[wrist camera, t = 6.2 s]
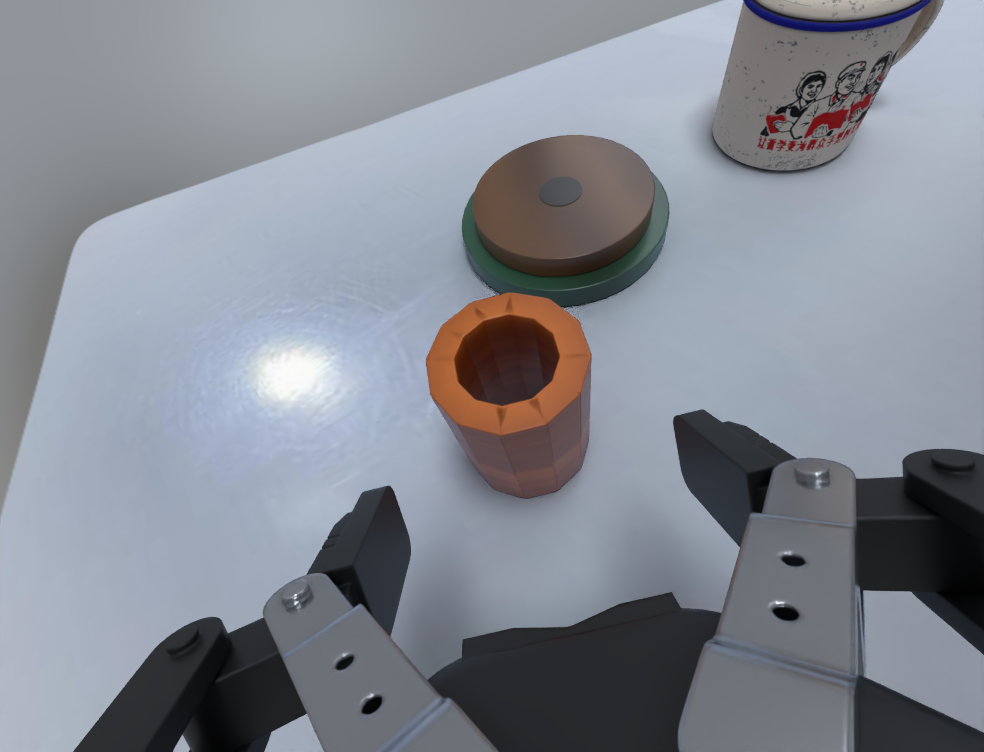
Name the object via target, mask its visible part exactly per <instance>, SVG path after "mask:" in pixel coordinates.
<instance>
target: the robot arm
mask: <svg viewBox="0 0 984 752" xmlns="http://www.w3.org/2000/svg"><path fill="white" fill-rule="evenodd" d="M673 425H674V431H675V437H676V443H677V449H678V455H679V461H680V466H681V471H682V475H683V478H684V480H685V483H686V485H687V487H688V488H689V490H690V491H691V493H692V494H693V495H694V496H695V497H696V498H697V499H698V500H699V502H700V503H701V504H702V505H703V506H704V507H705V508H706V510H707V511H708V512H709V513H710V514H711V515H712V516H713V517H714V519H715V520H716V521H717V522H718V523H719V524H720V525H721V527H722V528H723V529H724V530H725V531H726V532H727V533H728V534H729V536H730V537H731V538H732V539H733V540H734V541H735V542H736V543H737V545H738V546H739V547H740V551H739V554H738V558H737V561H736V564H735V568H734V571H733V575H732V578H731V582H730V585H729V589H728V592H727V596H726V599H725V603H724V606H723V610H722V613H719V612H714V611H708V610H703V609H690V608H680V606H679V604H678V602H677V601H676V599H675V597H674V595H673V594H672V592H670V593H666V594H661V595H657V596H653V597H648V598H644V599H639V600H635V601H630V602H626V603H622V604H618V605H616V606H614V607H612V608H610V609H607V610H605V611H603V612H601V613H599V614H597V615H594V616H592V617H590V618H588V619H586V620H583V621H581V622H579V623H577V624H575V625H572V626H569V627H553V628H511V629H507V630H503V631H498V632H494V633H489V634H485V635H481V636H476V637H472V638H467V639H463V645H462V658H460V659H458V660H456V661H454V662H453V663H451V664H449V665H447V666H446V667H444V668H443V669H441V670H440V671H438V672H437V673H436V674H434V675H433V676H432V677H430V678H429V679H428V680H426V679H425V677H424V676H423V675H422V674H421V673H420V672H419V670H418V669H417V668H416V667H415V666H414V665H413V663H412V662H411V661H410V660H409V659H408V657H407V656H406V655H405V654H404V653H403V652H402V650H401V649H400V648H399V647H398V646H397V645H396V643H395V642H394V641H393V640H392V639H391V638H390V637H391V633H392V629H393V625H394V621H395V617H396V613H397V609H398V605H399V601H400V597H401V593H402V589H403V585H404V581H405V577H406V573H407V569H408V565H409V561H410V556H411V545H410V538H409V534H408V531H407V528H406V525H405V522H404V519H403V517H402V514H401V511H400V508H399V505H398V502H397V499H396V496H395V493H394V491H393V489H392V488H391V487H390V486H385V487H381V488H377V489H372V490H368V491H364V492H362V494H361V496H360V498H359V500H358V501H357V503H356V505H355V507H354V509H353V511H352V512H350V513H347V514H346V515H345V516H344V517H343V518H342V519H341V520H340V521H338V522H337V523H336V524H335V525H334V527H333V529H332V530H331V532H330V534H329V536H328V539H327V540H326V541H325V543H324V545H323V546H322V550H320V552H319V553H318V555H317V557H316V559H315V561H314V562H313V564H312V566H311V568H310V569H309V571H308V573H307V575H305V576H302V577H299V578H297V579H295V580H293V581H291V582H289V583H288V584H286V585H285V586H283V587H282V588H280V589H279V590H278V591H277V592H276V593H274V594H273V595H272V596H271V597H270V599H269V600H268V601H267V603H266V604H265V606H264V609H263V616H264V618H262V619H260V620H257V621H255V622H253V623H251V624H248V625H246V626H244V627H242V628H239V629H237V630H235V631H233V632H230V633H227V631H226V629H225V627H224V624H223V622H222V620H221V619H220V618H217V617H208V618H203V619H200V620H197V621H195V622H192V623H190V624H188V625H186V626H184V627H182V628H181V629H179V630H177V631H176V632H174V633H173V634H171V635H170V636H169V637H167V638H166V639H165V640H164V641H162V642H161V643H160V644H159V645H158V646H157V647H156V648H155V649H154V650H153V651H152V653H151V654H150V655H149V656H148V658H147V659H146V660H145V661H144V663H143V664H142V665H141V666H140V668H139V669H138V670H137V671H136V673H135V674H134V675H133V677H132V678H131V679H130V680H129V682H128V683H127V684H126V685H125V687H124V688H123V689H122V690H121V692H120V693H119V694H118V696H117V697H116V698H115V699H114V701H113V702H112V703H111V704H110V706H109V707H108V708H107V709H106V711H105V712H104V713H103V715H102V716H101V717H100V718H99V720H98V721H97V722H96V723H95V725H94V726H93V727H92V728H91V730H90V731H89V732H88V734H87V735H86V736H85V737H84V739H83V740H82V741H81V742H80V744H79V745H78V746H77V747H76V749H75V750H74V751H73V752H173V750H174V748H175V746H176V744H177V743H178V741H179V739H180V737H181V736H182V734H183V736H184V738H185V740H186V742H187V744H188V745H189V747H190V751H189V752H264V751H265V748H266V746H267V743H268V741H269V738H270V735H271V732H272V731H274V730H276V729H278V728H280V727H282V726H284V725H286V724H288V723H289V722H291V721H293V720H295V719H297V718H299V717H301V716H303V715H305V714H307V715H308V717H309V719H310V721H311V723H312V726H313V728H314V730H315V732H316V735H317V737H318V739H319V741H320V744H321V746H322V748H323V750H324V752H984V733H983V732H981V731H979V730H977V729H975V728H972V727H970V726H968V725H966V724H964V723H962V722H960V721H958V720H955V719H953V718H951V717H949V716H947V715H945V714H943V713H940V712H938V711H936V710H934V709H932V708H930V707H928V706H926V705H923V704H921V703H919V702H917V701H915V700H913V699H911V698H909V697H906V696H904V695H902V694H900V693H898V692H896V691H894V690H892V689H889V688H887V687H885V686H883V685H881V684H879V683H877V682H874V681H872V680H870V679H868V678H866V648H865V613H864V590H870V591H911V592H912V593H913V594H914V595H915V596H916V597H917V598H918V599H919V600H921V601H922V602H923V603H924V604H925V605H926V606H928V607H929V608H930V609H931V610H932V611H933V612H935V613H936V614H937V615H938V616H939V617H940V618H941V619H943V620H944V621H945V622H946V623H947V624H948V625H950V626H951V627H952V628H953V629H954V630H955V631H957V632H958V633H959V634H960V635H961V636H962V637H964V638H965V639H966V640H967V641H968V642H969V643H971V644H972V645H973V646H974V647H975V648H976V649H978V650H979V651H980V652H981V653H982V654H983V655H984V455H982V454H979V453H974V452H970V451H963V450H955V449H930V450H922V451H918V452H914V453H912V454H909V455H908V456H906V457H905V458H904V459H903V462H902V463H903V477H890V478H871V479H856V477H855V474H854V472H853V471H852V470H851V469H850V468H848V467H847V466H845V465H843V464H841V463H838V462H835V461H831V460H826V459H818V458H800V459H797V458H795V457H794V456H792V455H791V454H789V453H787V452H786V451H784V450H783V449H781V448H780V447H778V446H777V445H775V444H773V443H770V442H769V440H767V439H766V438H764V437H762V436H759V434H758V433H756V432H755V431H753V430H752V429H750V428H748V427H747V426H744V425H740V424H736V423H732V422H729V421H728V422H723V423H722V422H721V421H719V420H718V419H716V418H715V417H714V416H712V415H711V414H709V413H708V412H706V411H705V410H698V411H693V412H689V413H685V414H681V415H677V416H675V417H674V420H673Z"/></svg>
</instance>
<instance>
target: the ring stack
mask: <svg viewBox="0 0 984 752" xmlns="http://www.w3.org/2000/svg"><path fill="white" fill-rule="evenodd" d="M668 219H669V203H668V199H667V195H666V192H665V190H664V188H663V186H662V184H661V183H660V181H659V180H658V179H657V177H656V176H655V175H654V174H653V173H652V172H651V171H650V169H649V167H648V166H647V164H646V163H645V162H644V160H643V159H642V158H641V157H640V156H639V155H637V154H636V153H635V152H633V151H632V150H631V149H629V148H627V147H625V146H623V145H621V144H619V143H616V142H614V141H611V140H608V139H604V138H599V137H594V136H584V135H567V136H557V137H550V138H546V139H541V140H538V141H535V142H531V143H528V144H526V145H524V146H521V147H519V148H517V149H515V150H513V151H511V152H509V153H508V154H506V155H505V156H503V157H502V158H500V159H499V160H498V161H497V162H495V163H494V164H493V165H492V166H491V167H490V168H489V169H488V170H487V171H486V172H485V174H484V175H483V176H482V178H481V179H480V181H479V183H478V184H477V187H476V189H475V192H474V193H473V194H472V196H471V198H470V199H469V201H468V203H467V206H466V208H465V211H464V215H463V220H462V234H463V240H464V243H465V247H466V250H467V253H468V256H469V259H470V262H471V264H472V266H473V268H474V270H475V271H476V273H477V274H478V275H479V276H480V278H481V279H482V280H483V281H484V282H486V283H487V284H488V285H489V286H490V287H492V288H493V289H494V290H496V291H497V292H499V293H501V294H505V293H508V292H510V293H519V294H525V295H531V296H537V297H543V298H548V299H550V300H552V301H553V302H554V303H556V304H557V305H558V306H560V307H563V306H573V305H580V304H585V303H590V302H594V301H597V300H600V299H603V298H606V297H608V296H610V295H613V294H615V293H617V292H619V291H621V290H623V289H624V288H626V287H628V286H629V285H631V284H632V283H633V282H635V281H636V280H637V279H639V278H640V277H641V276H642V275H643V274H644V273H645V272H646V271H647V270H648V269H649V268H650V267H651V265H652V264H653V263H654V261H655V260H656V258H657V257H658V255H659V253H660V251H661V249H662V246H663V243H664V240H665V235H666V230H667V225H668Z"/></svg>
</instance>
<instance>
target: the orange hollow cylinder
mask: <svg viewBox="0 0 984 752" xmlns="http://www.w3.org/2000/svg"><path fill="white" fill-rule="evenodd" d="M426 367H427V374H428V381H429V389H430V395H431V397H432V399H433V401H434V402H435V404H436V406H437V407H438V409H439V410H440V412H441V414H442V415H443V417H444V419H445V420H446V422H447V423H448V425H449V427H450V428H451V430H452V432H453V433H454V435H455V437H456V438H457V440H458V441H459V443H460V445H461V446H462V448H463V450H464V451H465V453H466V454H467V456H468V458H469V459H470V461H471V463H472V464H473V466H474V468H475V469H476V470H477V471H478V472H479V473H480V474H481V475H482V476H483V478H484V479H485V480H486V481H487V482H488V483H489V484H490V485H491V486H492V488H494V489H495V490H498V491H501V492H505V493H508V494H511V495H515V496H518V497H521V498H531V497H535V496H539V495H543V494H547V493H552V492H556V491H557V490H559V489H560V488H561V487H562V486H563V485H564V484H565V483H566V482H568V481H569V480H570V479H571V478H572V477H573V476H574V475H575V474H576V473H577V472H578V471H579V470H580V469H581V468H582V464H583V460H584V456H585V453H586V449H587V445H588V441H589V419H590V388H591V352H590V349H589V347H588V344H587V341H586V338H585V336H584V333H583V330H582V327H581V325H580V322H579V321H578V320H577V319H576V318H575V317H573V316H572V315H571V314H569V313H568V312H566V311H565V310H564V309H562V308H561V307H560V306H558V305H557V304H556V303H554V302H553V301H552V300H550V299H548V298H543V297H537V296H531V295H525V294H519V293H510V292H508V293H505V294H501V295H497V296H493V297H489V298H485V299H482V300H478V301H474V302H472V303H470V304H469V305H467V306H466V307H465V308H463V309H462V310H461V311H460V312H458V313H457V314H456V315H455V316H453V317H452V318H451V319H449V320H448V321H447V322H446V323H444V324H443V325H442V327H441V328H440V330H439V332H438V334H437V336H436V338H435V341H434V343H433V345H432V347H431V349H430V351H429V354H428V356H427V358H426Z"/></svg>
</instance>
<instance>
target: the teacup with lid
mask: <svg viewBox="0 0 984 752" xmlns="http://www.w3.org/2000/svg"><path fill="white" fill-rule="evenodd" d="M943 3H944V0H743V5H742V9H741V13H740V17H739V21H738V25H737V29H736V33H735V37H734V41H733V45H732V49H731V53H730V57H729V61H728V64H727V68H726V72H725V76H724V80H723V84H722V88H721V92H720V96H719V100H718V104H717V108H716V112H715V116H714V120H713V126H712V131H713V136H714V139H715V141H716V143H717V144H718V146H719V147H720V148H721V149H722V150H723V151H724V152H725V153H726V154H727V155H729V156H730V157H732V158H733V159H735V160H737V161H739V162H741V163H744V164H747V165H750V166H753V167H757V168H762V169H768V170H798V169H805V168H810V167H813V166H817V165H820V164H822V163H825V162H827V161H829V160H831V159H833V158H834V157H836V156H837V155H839V154H840V153H841V152H842V151H844V150H845V149H846V148H847V146H848V145H849V144H850V142H851V141H852V139H853V137H854V135H855V133H856V132H857V130H858V128H859V126H860V124H861V122H862V120H863V118H864V117H865V115H866V113H867V111H868V109H869V107H870V105H871V104H872V102H873V100H874V98H875V96H876V94H877V92H878V91H879V89H880V87H881V85H882V83H883V81H884V79H885V77H886V76H887V74H888V72H889V70H890V68H891V67H892V66H893V65H894V64H896V63H897V62H898V61H899V60H901V59H902V58H903V57H904V56H905V55H906V54H907V53H908V52H909V51H910V50H911V49H912V48H913V47H914V46H915V45H916V44H917V43H918V42H919V41H920V39H921V38H922V37H923V36H924V35H925V33H926V32H927V31H928V29H929V28H930V26H931V25H932V24H933V22H934V20H935V19H936V17H937V15H938V14H939V12H940V10H941V8H942V5H943Z"/></svg>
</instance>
